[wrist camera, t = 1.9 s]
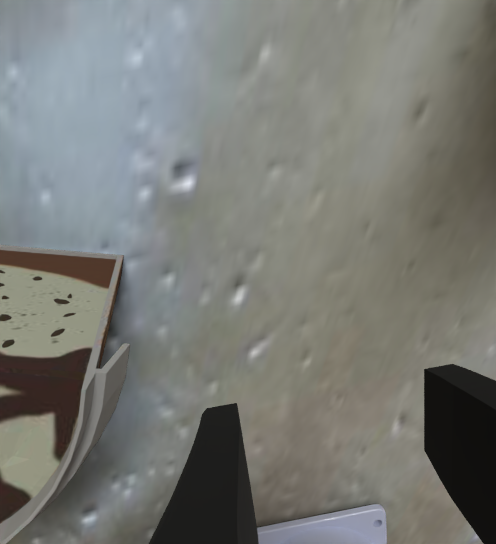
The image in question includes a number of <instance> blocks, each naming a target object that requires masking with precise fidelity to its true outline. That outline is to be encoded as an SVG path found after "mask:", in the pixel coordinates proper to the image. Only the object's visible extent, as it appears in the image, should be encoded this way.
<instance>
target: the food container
mask: <svg viewBox="0 0 496 544" xmlns="http://www.w3.org/2000/svg"><path fill="white" fill-rule="evenodd" d="M123 256H124V255H113V254H101V253H89V252H77V251H65V250H53V249H41V248H30V247H18V246H6V245H0V544H6V543H7V542H8V541H9V540H10V539H12V538H13V537H14V536H15V535H16V534H17V533H18V532H19V531H20V530H22V529H23V528H24V527H25V526H27V525H28V524H29V523H30V522H31V521H32V520H33V519H34V518H35V517H37V516H38V515H39V514H40V513H41V512H42V511H43V510H44V509H46V508H47V507H48V506H49V505H50V504H51V503H52V502H53V501H54V500H55V498H56V497H57V496H58V495H59V493H60V492H61V491H62V490H63V488H64V487H65V486H66V485H67V483H68V482H69V481H70V480H71V478H72V477H73V476H74V474H75V473H76V472H77V470H78V469H79V467H80V466H81V464H82V463H83V461H84V460H85V459H86V457H87V456H88V454H89V453H90V451H91V450H92V448H93V447H94V446H95V444H96V443H97V441H98V440H99V438H100V437H101V435H102V433H103V431H104V429H105V427H106V425H107V423H108V422H109V420H110V418H111V416H112V414H113V412H114V410H115V408H116V405H117V402H118V399H119V396H120V393H121V389H122V386H123V383H124V380H125V377H126V371H127V363H128V356H129V348H130V344H126V343H124V344H123V345H122V346H121V347H120V348H119V349H118V350H117V352H116V353H115V354H114V355H113V356H112V357H111V359H110V360H109V361H108V362H107V363H106V364H105V365H104V367H103V368H102V369H100V364H101V360H102V356H103V351H104V347H105V343H106V339H107V334H108V330H109V326H110V321H111V317H112V313H113V308H114V304H115V300H116V296H117V291H118V287H119V283H120V278H121V274H122V265H123Z"/></svg>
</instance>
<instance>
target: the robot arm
mask: <svg viewBox="0 0 496 544" xmlns="http://www.w3.org/2000/svg"><path fill="white" fill-rule="evenodd" d="M424 450H425V452H426V454H427V456H428V458H429V459H430V461H431V463H432V465H433V467H434V469H435V471H436V472H437V474H438V476H439V478H440V480H441V481H442V483H443V485H444V486H445V488H446V490H447V492H448V493H449V495H450V497H451V498H452V500H453V501H454V503H455V504H456V506H457V507H458V508H459V510H460V511H461V513H462V514H463V515H464V517H465V518H466V520H467V521H468V522H469V524H470V525H471V527H472V528H473V529H474V531H475V532H476V534H477V535H478V536H479V538H480V539H481V541H482V542H483V543H484V544H496V381H495V380H492V379H490V378H488V377H485V376H483V375H480V374H478V373H476V372H473V371H471V370H468V369H465V368H463V367H460V366H457V365H454V364H450V365H445V366H439V367H433V368H428V369H424ZM149 544H387V531H386V513H385V510H384V508H383V507H382V506H381V505H379V504H373V505H368V506H363V507H358V508H353V509H348V510H343V511H338V512H333V513H328V514H323V515H318V516H313V517H308V518H303V519H298V520H293V521H288V522H283V523H278V524H273V525H268V526H263V527H258V528H257V526H256V519H255V513H254V506H253V500H252V493H251V487H250V480H249V474H248V468H247V462H246V456H245V450H244V443H243V437H242V431H241V425H240V419H239V413H238V407H237V403H234V404H229V405H223V406H217V407H212V408H207V409H206V410H205V411H204V413H203V414H202V417H201V421H200V425H199V428H198V432H197V435H196V438H195V441H194V444H193V446H192V449H191V452H190V454H189V457H188V460H187V462H186V465H185V467H184V469H183V472H182V474H181V476H180V479H179V481H178V484H177V486H176V488H175V491H174V493H173V495H172V497H171V500H170V502H169V504H168V506H167V508H166V510H165V512H164V514H163V516H162V518H161V520H160V522H159V524H158V526H157V528H156V530H155V532H154V534H153V536H152V538H151V540H150V542H149Z"/></svg>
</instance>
